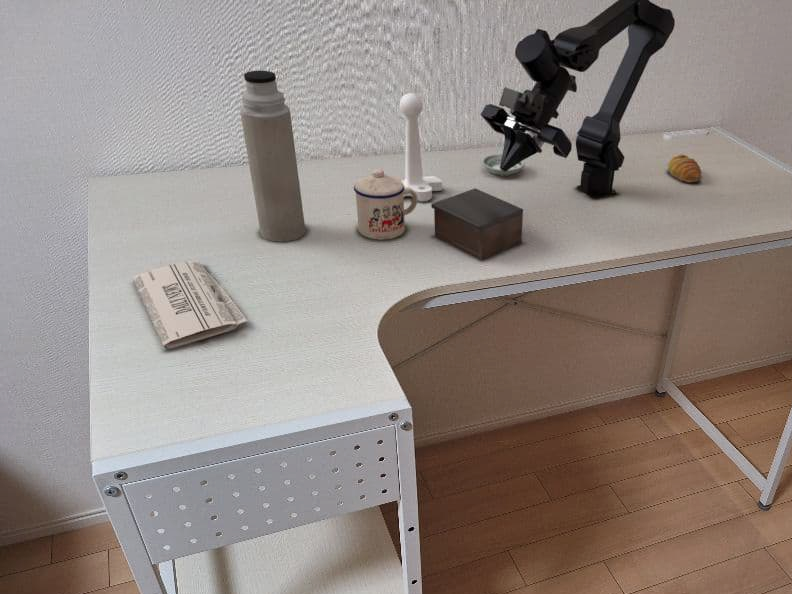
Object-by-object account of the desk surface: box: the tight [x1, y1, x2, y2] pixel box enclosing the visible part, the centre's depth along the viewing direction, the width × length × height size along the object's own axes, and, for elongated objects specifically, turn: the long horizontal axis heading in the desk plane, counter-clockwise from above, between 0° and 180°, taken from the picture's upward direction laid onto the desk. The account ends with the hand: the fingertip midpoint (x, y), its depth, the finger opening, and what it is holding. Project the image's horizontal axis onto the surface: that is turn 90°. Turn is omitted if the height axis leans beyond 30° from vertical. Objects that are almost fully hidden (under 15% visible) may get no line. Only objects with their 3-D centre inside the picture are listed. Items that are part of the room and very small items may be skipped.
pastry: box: [667, 154, 702, 183], centre depth 176 cm, size 9×7×4 cm
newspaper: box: [132, 259, 248, 350], centre depth 120 cm, size 23×12×2 cm, turn 33°
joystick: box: [399, 92, 443, 203], centre depth 153 cm, size 11×8×20 cm
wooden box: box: [433, 209, 524, 261], centre depth 143 cm, size 11×13×6 cm
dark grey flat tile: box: [430, 187, 524, 230], centre depth 141 cm, size 11×13×1 cm
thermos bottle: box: [239, 70, 306, 242], centre depth 134 cm, size 8×8×28 cm
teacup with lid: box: [353, 168, 418, 241], centre depth 142 cm, size 12×9×12 cm
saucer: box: [481, 153, 526, 177], centre depth 172 cm, size 10×10×2 cm
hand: (502, 169), depth 141 cm, fingers closed
